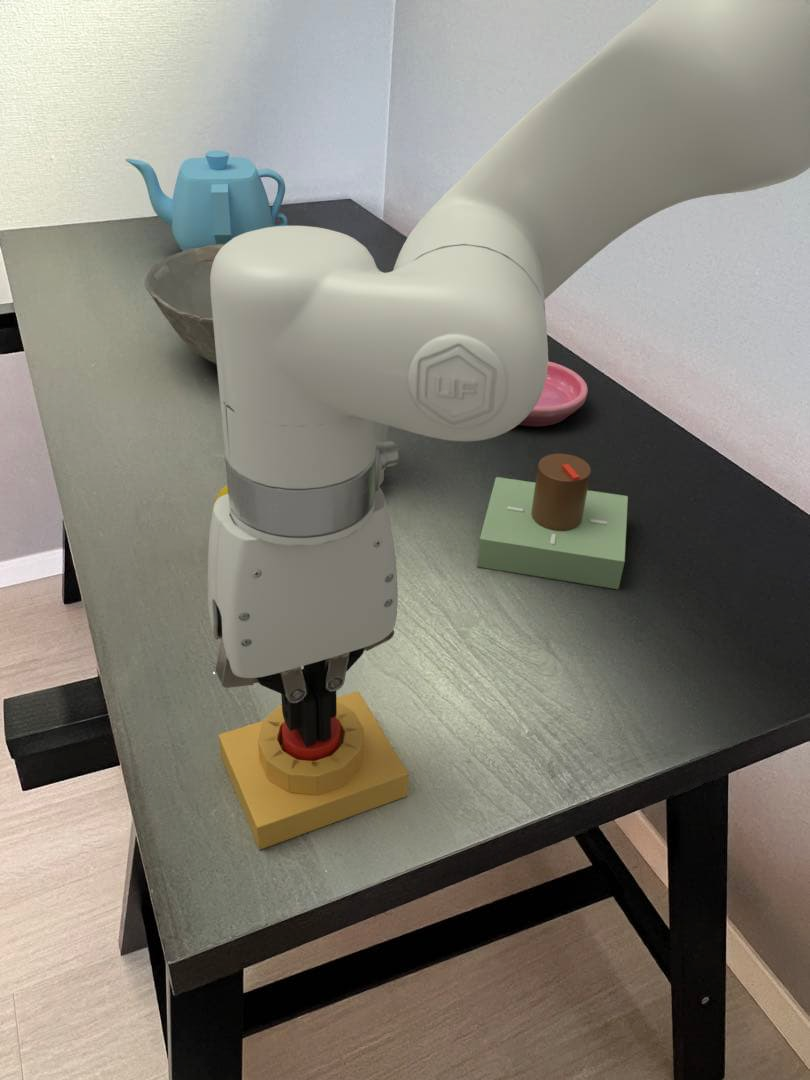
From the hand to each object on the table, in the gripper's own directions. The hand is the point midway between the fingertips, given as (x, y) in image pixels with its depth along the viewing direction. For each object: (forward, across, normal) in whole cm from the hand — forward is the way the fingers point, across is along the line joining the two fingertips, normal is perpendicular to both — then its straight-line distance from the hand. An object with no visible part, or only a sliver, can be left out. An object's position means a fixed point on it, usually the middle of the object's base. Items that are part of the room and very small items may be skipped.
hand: (309, 727), depth 59 cm
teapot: (+5, -22, -96) cm, 99 cm away
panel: (+5, -29, -16) cm, 33 cm away
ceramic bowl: (+5, -16, -61) cm, 63 cm away
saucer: (+5, -40, -38) cm, 56 cm away
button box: (+5, 0, 0) cm, 5 cm away
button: (+2, 0, 0) cm, 2 cm away
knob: (+2, -29, -16) cm, 33 cm away
